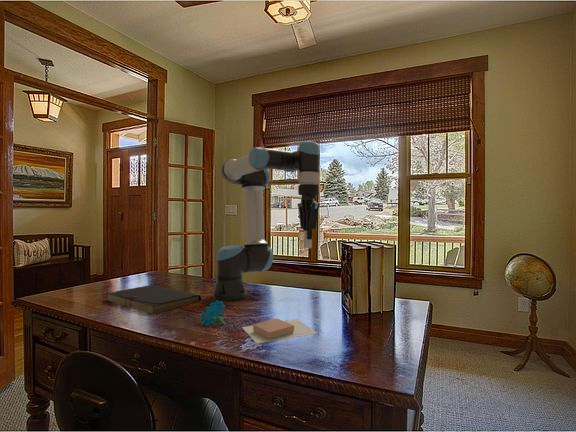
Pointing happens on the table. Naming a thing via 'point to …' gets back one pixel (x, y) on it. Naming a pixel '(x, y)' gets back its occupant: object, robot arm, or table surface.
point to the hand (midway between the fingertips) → (307, 248)
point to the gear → (213, 313)
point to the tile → (273, 328)
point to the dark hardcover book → (152, 298)
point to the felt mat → (299, 330)
